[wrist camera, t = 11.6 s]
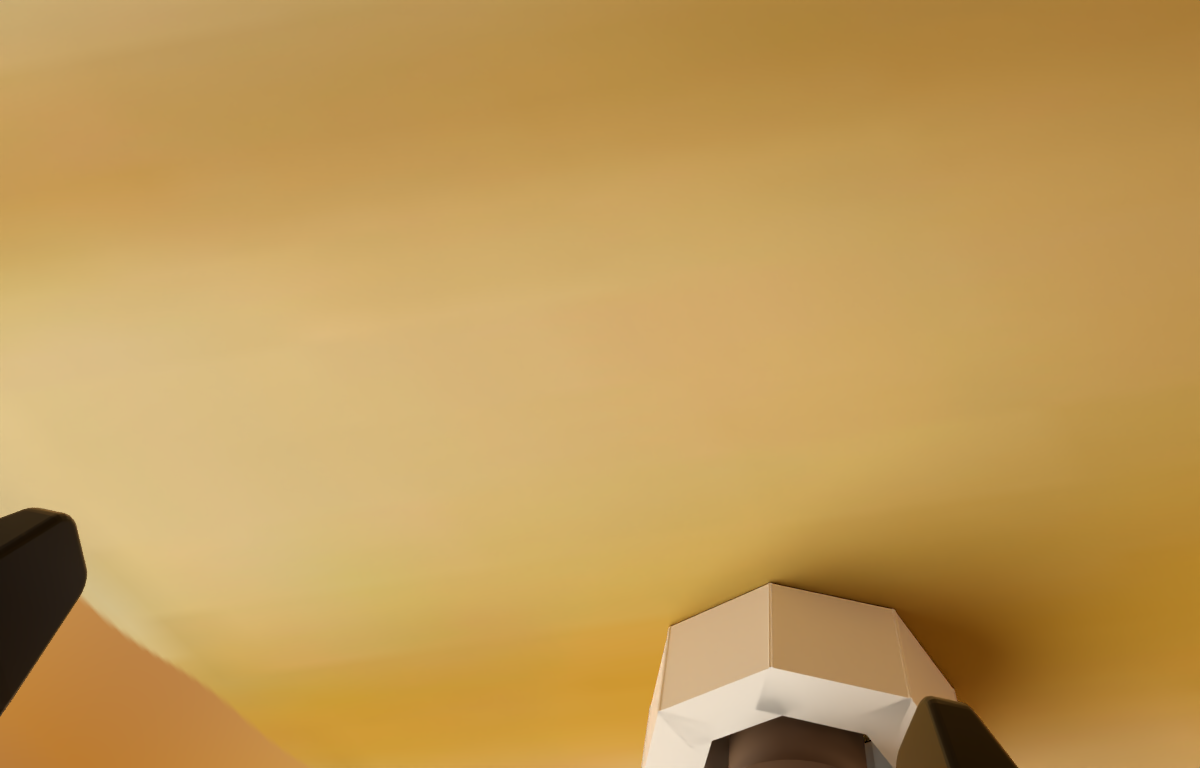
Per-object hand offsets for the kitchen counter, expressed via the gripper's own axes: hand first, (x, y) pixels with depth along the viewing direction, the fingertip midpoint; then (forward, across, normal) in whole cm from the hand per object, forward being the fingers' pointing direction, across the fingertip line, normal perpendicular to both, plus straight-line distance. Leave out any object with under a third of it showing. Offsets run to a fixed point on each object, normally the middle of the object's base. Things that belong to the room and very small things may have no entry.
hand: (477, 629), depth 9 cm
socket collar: (+12, -6, +13) cm, 19 cm away
